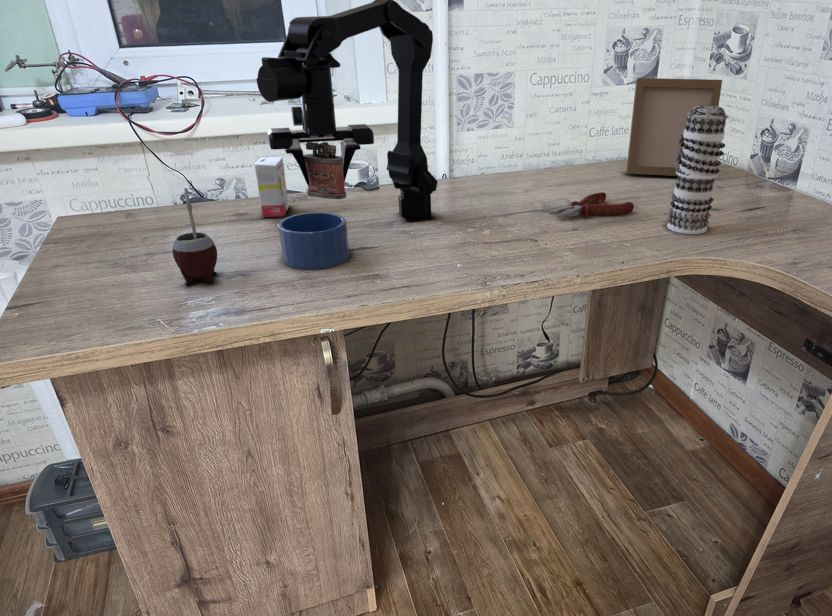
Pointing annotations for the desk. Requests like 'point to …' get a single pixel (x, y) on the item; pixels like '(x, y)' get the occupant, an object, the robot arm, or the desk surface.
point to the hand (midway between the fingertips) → (325, 183)
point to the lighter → (324, 171)
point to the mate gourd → (195, 253)
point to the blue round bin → (314, 240)
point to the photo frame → (664, 120)
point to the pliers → (593, 207)
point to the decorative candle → (697, 169)
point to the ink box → (272, 186)
